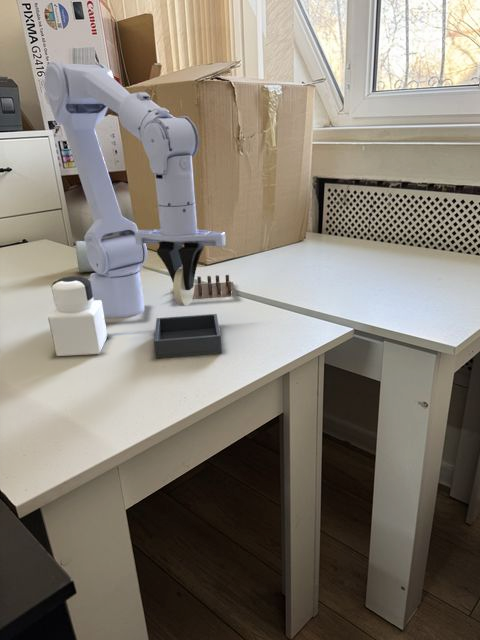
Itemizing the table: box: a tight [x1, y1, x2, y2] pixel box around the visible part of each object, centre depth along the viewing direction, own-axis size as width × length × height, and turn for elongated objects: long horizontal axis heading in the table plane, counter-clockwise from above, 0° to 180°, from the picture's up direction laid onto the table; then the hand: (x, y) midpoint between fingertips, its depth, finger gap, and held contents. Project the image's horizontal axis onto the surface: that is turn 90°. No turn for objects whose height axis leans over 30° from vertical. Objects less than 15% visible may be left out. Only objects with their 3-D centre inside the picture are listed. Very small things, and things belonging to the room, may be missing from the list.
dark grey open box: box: [153, 313, 223, 359], centre depth 87 cm, size 11×10×3 cm
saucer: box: [172, 267, 194, 307], centre depth 84 cm, size 1×6×6 cm, turn 167°
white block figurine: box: [47, 275, 108, 357], centre depth 84 cm, size 7×7×12 cm
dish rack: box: [192, 274, 238, 300], centre depth 110 cm, size 13×10×3 cm
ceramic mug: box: [75, 240, 95, 273], centre depth 128 cm, size 10×8×8 cm
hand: (184, 288), depth 84 cm, fingers closed on saucer, 1 cm apart
